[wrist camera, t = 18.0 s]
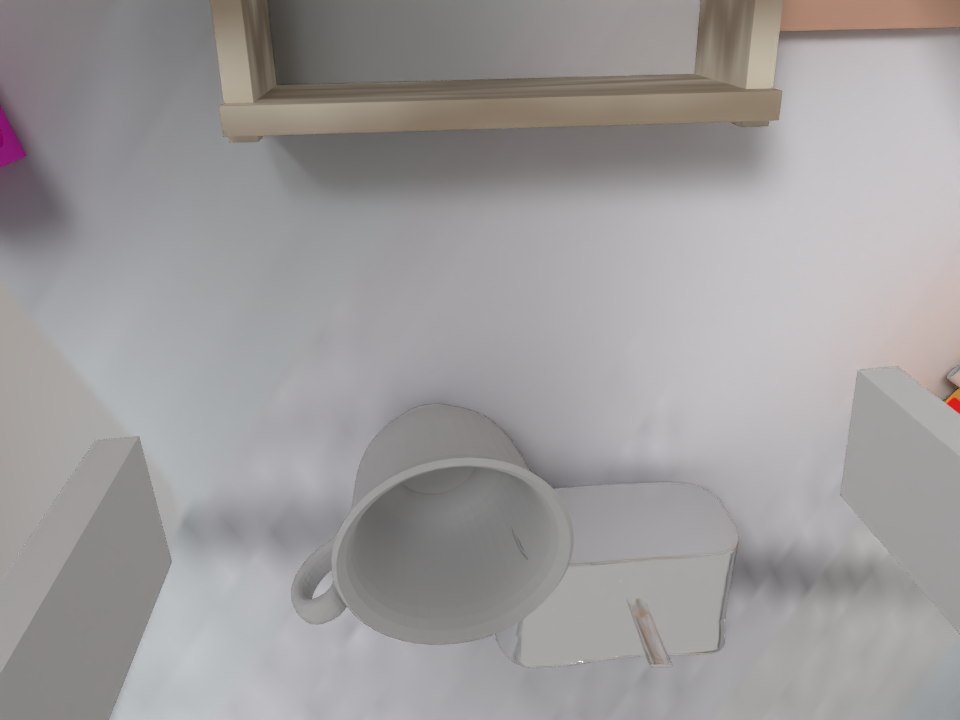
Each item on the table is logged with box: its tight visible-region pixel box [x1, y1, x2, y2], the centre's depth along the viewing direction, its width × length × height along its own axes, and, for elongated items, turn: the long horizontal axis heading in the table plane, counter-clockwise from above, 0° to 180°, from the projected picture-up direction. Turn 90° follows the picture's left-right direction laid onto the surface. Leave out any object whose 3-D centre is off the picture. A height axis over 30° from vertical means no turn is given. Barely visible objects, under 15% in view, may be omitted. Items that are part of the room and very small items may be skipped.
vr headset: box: [495, 482, 739, 668], centre depth 48 cm, size 14×9×11 cm, turn 89°
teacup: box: [291, 404, 574, 645], centre depth 45 cm, size 12×15×10 cm
